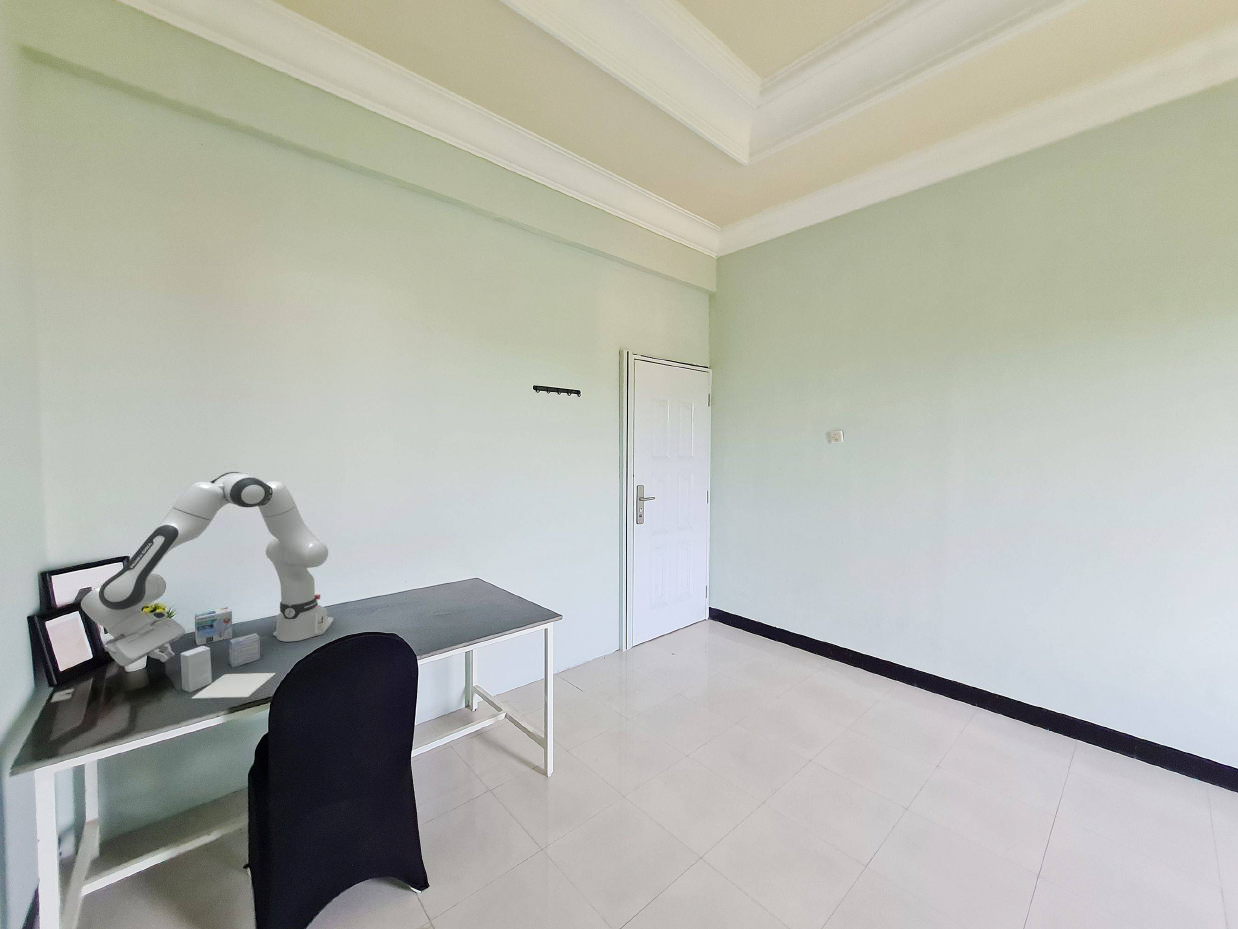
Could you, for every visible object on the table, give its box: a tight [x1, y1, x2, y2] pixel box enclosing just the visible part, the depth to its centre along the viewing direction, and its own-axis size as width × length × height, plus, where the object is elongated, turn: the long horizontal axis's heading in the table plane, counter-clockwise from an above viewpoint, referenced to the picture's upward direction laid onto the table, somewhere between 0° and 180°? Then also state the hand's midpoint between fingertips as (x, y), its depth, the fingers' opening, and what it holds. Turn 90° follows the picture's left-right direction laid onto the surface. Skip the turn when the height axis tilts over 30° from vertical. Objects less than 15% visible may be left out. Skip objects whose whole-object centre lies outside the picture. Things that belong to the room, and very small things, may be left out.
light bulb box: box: [194, 606, 233, 646], centre depth 182 cm, size 11×7×11 cm, turn 137°
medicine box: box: [228, 632, 261, 668], centre depth 166 cm, size 8×4×9 cm, turn 141°
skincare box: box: [179, 645, 213, 693], centre depth 149 cm, size 6×4×12 cm
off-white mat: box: [191, 672, 277, 700], centre depth 151 cm, size 14×16×1 cm
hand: (169, 658), depth 148 cm, fingers closed
